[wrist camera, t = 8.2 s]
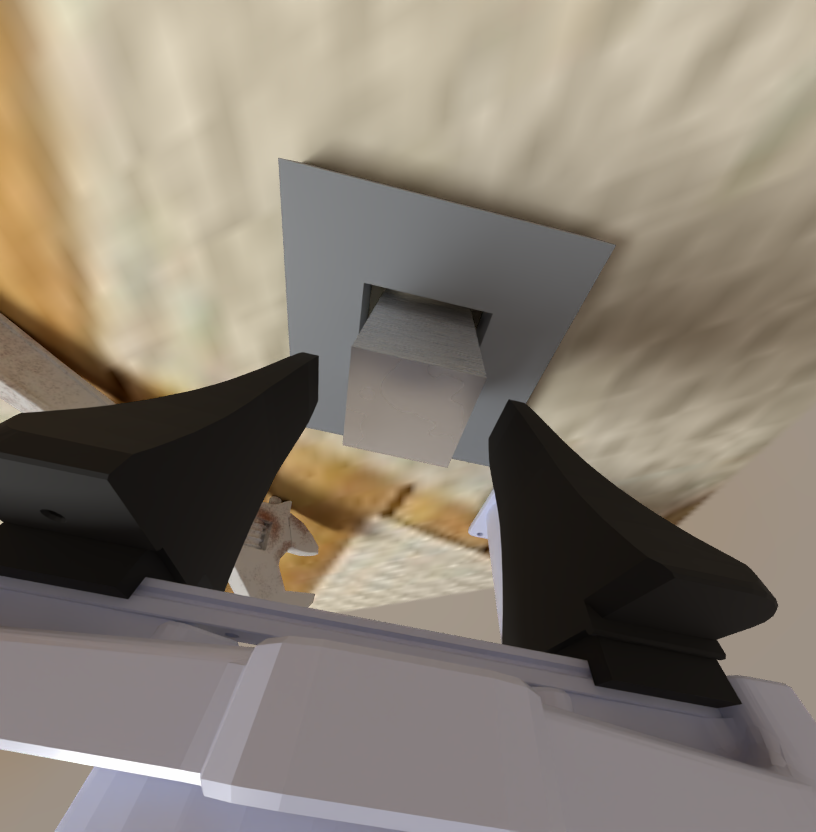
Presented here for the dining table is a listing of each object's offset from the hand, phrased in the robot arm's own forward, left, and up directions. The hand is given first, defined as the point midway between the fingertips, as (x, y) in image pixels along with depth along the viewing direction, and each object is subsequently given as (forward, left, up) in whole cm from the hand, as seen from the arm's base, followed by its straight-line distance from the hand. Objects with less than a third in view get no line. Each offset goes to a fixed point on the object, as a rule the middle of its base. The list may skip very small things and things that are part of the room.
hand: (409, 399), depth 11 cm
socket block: (0, 0, -5) cm, 5 cm away
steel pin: (0, 0, -6) cm, 6 cm away
